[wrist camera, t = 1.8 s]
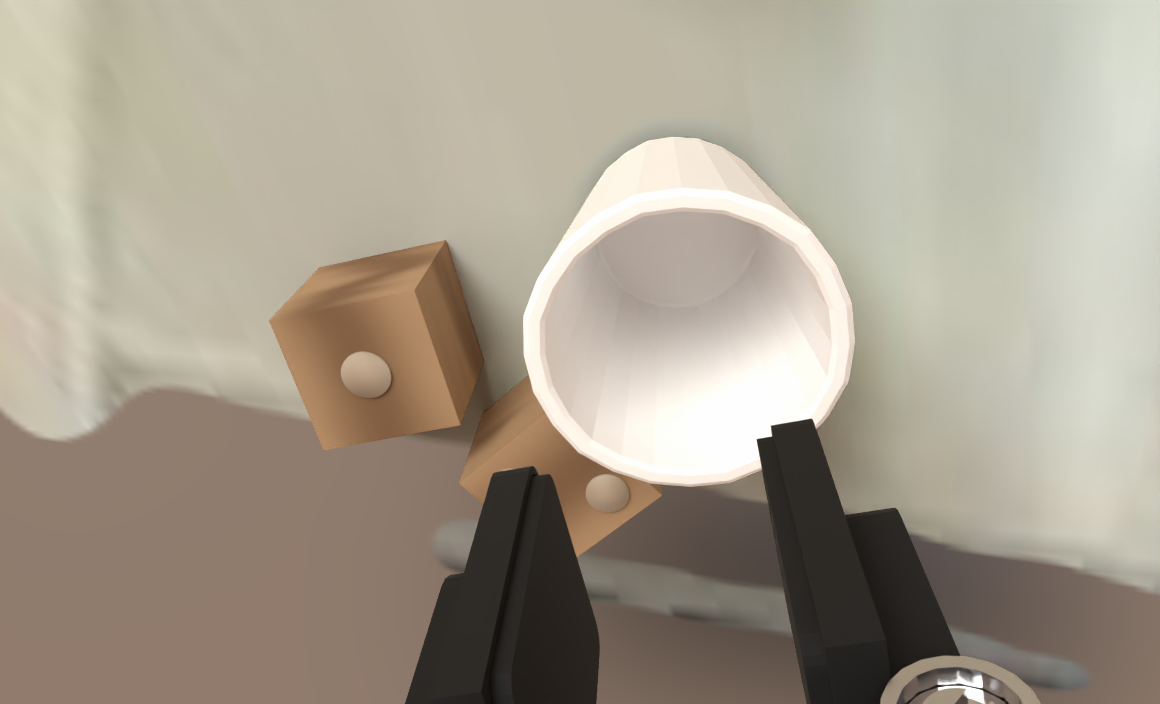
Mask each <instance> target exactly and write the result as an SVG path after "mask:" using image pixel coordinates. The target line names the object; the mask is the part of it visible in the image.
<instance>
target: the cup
mask: <svg viewBox="0 0 1160 704" xmlns="http://www.w3.org/2000/svg"><path fill="white" fill-rule="evenodd" d="M523 332H524V358H525V362H526V366H527V370H528V373H529V377H530V381H531V385H532V389H533V393H534V394H535V396H536V398H537V399H538V401H539V403H540V404H541V406H542V408H543V409H544V411H545V413H546V415H547V416H548V418H549V420H550V421H551V423H552V425H553V426H554V427H555V428H556V429H557V430H558V431H559V432H560V433H561V434H562V436H563V437H564V438H565V439H566V440H567V441H568V442H569V443H570V444H571V445H572V446H573V447H574V448H575V449H576V451H577V452H578V453H580V454H582V455H584V456H585V457H587V458H589V459H591V460H593V461H595V462H596V463H598V464H600V465H602V466H604V467H606V468H607V469H609V470H611V471H613V472H616V473H619V474H622V475H625V476H629V477H632V478H635V479H638V480H641V481H644V482H647V483H650V484H663V485H675V486H687V487H694V486H704V485H714V484H724V483H731V482H734V481H736V480H739V479H741V478H744V477H746V476H749V475H751V474H753V473H756V472H758V471H761V470H762V467H761V462H760V457H759V451H758V446H757V440H756V439H759V438H765V437H771V436H772V433H771V425H776V424H782V423H788V422H794V421H800V420H806V419H811V418H812V419H813V421H814V424H815V427H816V429H817V428H818V427H819V426H820V425H821V424H822V423H823V422H824V421H825V419H826V418H827V417H828V416H829V415H830V413H831V411H832V409H833V408H834V406H835V404H836V403H837V401H838V399H839V397H840V396H841V394H842V392H843V391H844V389H845V387H846V385H847V384H848V382H849V377H850V371H851V365H852V358H853V352H854V346H855V336H854V324H853V312H852V302H851V300H850V297H849V295H848V292H847V290H846V288H845V285H844V283H843V280H842V278H841V276H840V273H839V271H838V268H837V266H836V264H835V263H834V261H833V260H832V258H831V257H830V256H829V254H828V253H827V252H826V250H825V249H824V248H823V246H822V245H821V244H820V242H819V241H818V240H817V238H816V237H815V236H814V234H813V233H812V231H811V230H810V229H809V228H808V227H807V226H806V225H805V224H804V223H803V222H802V221H801V220H800V219H799V218H798V217H797V216H796V215H795V214H794V213H793V212H792V211H791V209H790V208H789V207H788V206H787V205H786V204H785V203H784V202H783V201H782V200H781V199H780V198H779V197H778V196H777V195H776V194H775V193H774V192H773V191H772V190H771V189H770V188H769V187H768V186H767V185H766V184H765V183H764V182H763V181H762V180H761V179H760V178H759V176H758V175H757V174H756V173H755V172H754V171H753V170H752V169H751V168H750V167H749V166H748V165H747V164H746V163H745V162H744V161H743V160H742V159H740V158H738V157H737V156H735V155H734V154H732V153H731V152H729V151H727V150H726V149H724V148H723V147H721V146H718V145H715V144H713V143H711V142H708V141H705V140H702V139H698V138H691V137H668V138H662V139H655V140H648V141H646V142H644V143H642V144H641V145H639V146H637V147H635V148H633V149H631V150H629V151H627V152H626V153H624V154H623V155H622V156H621V157H620V158H618V159H617V160H616V161H615V162H614V163H613V164H611V165H610V166H609V167H608V168H607V169H606V171H605V172H604V174H603V175H602V176H601V178H600V179H599V181H598V182H597V184H596V185H595V187H594V188H593V190H592V191H591V193H590V195H589V196H588V198H587V199H586V201H585V203H584V204H583V206H582V208H581V209H580V211H579V212H578V214H577V216H576V217H575V219H574V221H573V222H572V224H571V225H570V227H569V229H568V230H567V232H566V233H565V235H564V237H563V238H562V240H561V242H560V243H559V245H558V246H557V248H556V250H555V251H554V253H553V255H552V256H551V258H550V259H549V261H548V263H547V264H546V266H545V267H544V269H543V271H542V272H541V274H540V276H539V277H538V279H537V281H536V284H535V287H534V289H533V292H532V295H531V297H530V300H529V302H528V305H527V308H526V310H525V313H524V316H523Z"/></svg>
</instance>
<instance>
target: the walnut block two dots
mask: <svg viewBox="0 0 1160 704" xmlns="http://www.w3.org/2000/svg"><path fill="white" fill-rule="evenodd" d="M529 466H533V467H535V468H536V470H537V472H538V474H539V475H545V474H550V475H551V477H552V478H553V481H554V484H555V487H556V490H557V494H558V497H559V500H560V504H561V507H562V510H563V514H564V517H565V520H566V524H567V527H568V530H569V534H570V537H571V540H572V544H573V547H574V550H575V554H576V557H578V556H579V555H581V554H582V553H584V552H585V551H586V550H588V549H589V548H590V547H592V546H593V545H595V544H596V543H597V542H599V541H600V540H602V539H603V538H604V537H606V536H607V535H608V534H610V533H611V532H612V531H614V530H615V529H617V528H618V527H619V526H621V525H622V524H624V523H625V522H626V521H628V520H629V519H631V518H632V517H633V516H635V515H636V514H637V513H639V512H640V511H642V510H643V509H644V508H646V507H647V506H649V505H650V504H651V503H653V502H654V501H656V500H657V499H658V498H660V497H661V496H662V484H650V483H647V482H644V481H641V480H638V479H635V478H632V477H629V476H625V475H622V474H619V473H616V472H613V471H611V470H609V469H607V468H606V467H604V466H602V465H600V464H598V463H596V462H595V461H593V460H591V459H589V458H587V457H585V456H584V455H582V454H580V453H578V452H577V451H576V449H575V448H574V447H573V446H572V445H571V444H570V443H569V442H568V441H567V440H566V439H565V438H564V437H563V436H562V434H561V433H560V432H559V431H558V430H557V429H556V428H555V427H554V426H553V425H552V423H551V421H550V420H549V418H548V416H547V415H546V413H545V411H544V409H543V408H542V406H541V404H540V403H539V401H538V399H537V398H536V396H535V394H534V393H533V389H532V385H531V381H530V377H529V375H528V376H527V377H526V378H525V379H523V380H522V381H521V382H520V383H519V384H517V385H516V386H515V387H514V388H513V389H511V390H510V391H509V392H508V393H507V394H506V395H504V396H503V397H502V398H501V399H500V400H498V401H497V402H496V403H495V404H494V405H492V406H491V407H490V408H489V409H488V410H486V411H485V412H484V413H483V414H482V417H481V420H480V423H479V426H478V429H477V432H476V435H475V438H474V441H473V444H472V447H471V450H470V452H469V455H468V458H467V462H466V464H465V467H464V470H463V473H462V476H461V479H460V482H459V484H460V485H461V486H463V487H464V488H465V489H466V490H467V491H468V492H469V493H471V494H472V495H473V496H474V497H475V498H476V499H477V500H479V501H480V502H481V503H482V504H484V501H485V497H486V494H487V490H488V486H489V483H490V479H491V476H492V474H493V473H495V472H500V471H506V470H512V469H517V468H523V467H529Z"/></svg>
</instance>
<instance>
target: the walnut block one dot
mask: <svg viewBox="0 0 1160 704" xmlns="http://www.w3.org/2000/svg"><path fill="white" fill-rule="evenodd" d="M269 322H270V324H271V326H272V329H273V331H274V333H275V336H276V338H277V341H278V343H279V345H280V348H281V350H282V352H283V355H284V357H285V360H286V362H287V364H288V367H289V369H290V371H291V374H292V376H293V379H294V381H295V383H296V386H297V388H298V390H299V393H300V395H301V398H302V400H303V402H304V405H305V407H306V409H307V412H308V414H309V417H310V419H311V421H312V424H313V426H314V428H315V431H316V433H317V435H318V438H319V440H320V443H321V445H322V447H323V450H327V449H333V448H338V447H344V446H349V445H355V444H360V443H366V442H371V441H376V440H382V439H388V438H393V437H399V436H404V435H410V434H415V433H421V432H426V431H432V430H437V429H443V428H448V427H454V426H459V425H461V423H462V420H463V417H464V414H465V412H466V409H467V406H468V404H469V401H470V398H471V395H472V393H473V390H474V387H475V385H476V382H477V379H478V376H479V374H480V371H481V368H482V366H483V363H484V358H483V355H482V352H481V349H480V346H479V343H478V340H477V336H476V333H475V330H474V327H473V324H472V321H471V318H470V314H469V311H468V308H467V305H466V302H465V299H464V296H463V292H462V289H461V286H460V283H459V280H458V277H457V274H456V270H455V267H454V264H453V261H452V258H451V255H450V252H449V248H448V245H447V242H446V240H444V241H440V242H435V243H430V244H426V245H421V246H417V247H412V248H407V249H403V250H398V251H394V252H389V253H384V254H380V255H375V256H371V257H366V258H361V259H357V260H352V261H348V262H343V263H338V264H334V265H329V266H324V267H320V268H318V270H317V271H316V272H315V273H314V274H313V275H312V276H311V277H310V278H309V279H308V280H307V281H306V282H305V283H304V284H303V285H302V286H301V287H300V289H299V290H298V291H297V292H296V293H295V294H294V295H293V296H292V297H291V298H290V299H289V300H288V301H287V302H286V303H285V304H284V305H283V307H282V308H281V309H280V310H279V311H278V312H277V313H276V314H275V315H274V316H273V317H272V318H271V319H270V320H269Z"/></svg>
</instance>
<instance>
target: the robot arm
mask: <svg viewBox="0 0 1160 704" xmlns="http://www.w3.org/2000/svg"><path fill="white" fill-rule="evenodd" d="M771 433H772V436H771V437H765V438H759V439H756V440H757V446H758V451H759V457H760V462H761V467H762V473H763V478H764V484H765V489H766V495H767V500H768V505H769V511H770V516H771V522H772V527H773V532H774V538H775V543H776V548H777V554H778V560H779V565H780V570H781V576H782V581H783V587H784V592H785V598H786V603H787V608H788V613H789V619H790V624H791V629H792V633H793V638H794V643H795V648H796V653H797V658H798V663H799V668H800V673H801V678H802V683H803V688H804V692H805V697H806V702H807V704H1041V703H1040V701H1039V700H1038V698H1037V697H1036V695H1035V693H1034V692H1033V690H1032V689H1031V688H1030V687H1029V686H1027V685H1026V684H1025V683H1024V682H1023V681H1022V680H1021V679H1019V678H1018V677H1017V676H1016V675H1015V674H1013V673H1011V672H1009V671H1007V670H1005V669H1003V668H1001V667H1000V666H998V665H996V664H994V663H991V662H987V661H983V660H979V659H976V658H972V657H967V656H960V654H959V652H958V649H957V647H956V645H955V642H954V640H953V638H952V635H951V633H950V631H949V628H948V626H947V624H946V621H945V619H944V617H943V614H942V612H941V610H940V607H939V605H938V602H937V600H936V598H935V595H934V593H933V591H932V588H931V586H930V584H929V581H928V579H927V577H926V574H925V572H924V569H923V567H922V565H921V562H920V560H919V558H918V555H917V553H916V551H915V548H914V546H913V544H912V541H911V539H910V537H909V534H908V532H907V530H906V527H905V525H904V523H903V520H902V518H901V516H900V514H899V512H898V510H897V509H896V508H889V509H883V510H876V511H870V512H863V513H857V514H850V515H844V512H843V509H842V506H841V503H840V499H839V496H838V493H837V490H836V487H835V484H834V481H833V478H832V475H831V472H830V469H829V466H828V463H827V460H826V457H825V454H824V451H823V448H822V445H821V442H820V439H819V436H818V433H817V430H816V427H815V424H814V421H813V419H812V418H811V419H806V420H800V421H794V422H788V423H782V424H776V425H771ZM599 651H600V646H599V635H598V629H597V625H596V621H595V617H594V614H593V610H592V607H591V604H590V600H589V597H588V594H587V590H586V587H585V584H584V580H583V577H582V574H581V570H580V567H579V564H578V560H577V557H576V554H575V550H574V547H573V544H572V540H571V537H570V534H569V530H568V527H567V524H566V520H565V517H564V514H563V510H562V507H561V504H560V500H559V497H558V494H557V490H556V487H555V484H554V481H553V478H552V477H551V475H550V474H545V475H539V474H538V472H537V470H536V468H535V467H533V466H529V467H523V468H517V469H512V470H506V471H500V472H495V473H493V474H492V476H491V479H490V483H489V486H488V490H487V494H486V497H485V501H484V504H483V508H482V511H481V515H480V518H479V522H478V525H477V529H476V532H475V536H474V540H473V543H472V547H471V550H470V554H469V557H468V561H467V564H466V568H465V571H464V573H461V574H455V575H450V576H448V577H447V578H446V579H445V581H444V583H443V584H442V587H441V590H440V593H439V596H438V599H437V603H436V606H435V609H434V612H433V616H432V619H431V622H430V625H429V628H428V632H427V635H426V638H425V641H424V645H423V648H422V651H421V654H420V657H419V661H418V664H417V667H416V670H415V673H414V677H413V680H412V683H411V686H410V689H409V693H408V696H407V699H406V702H405V704H596V699H597V684H598V668H599Z"/></svg>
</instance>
